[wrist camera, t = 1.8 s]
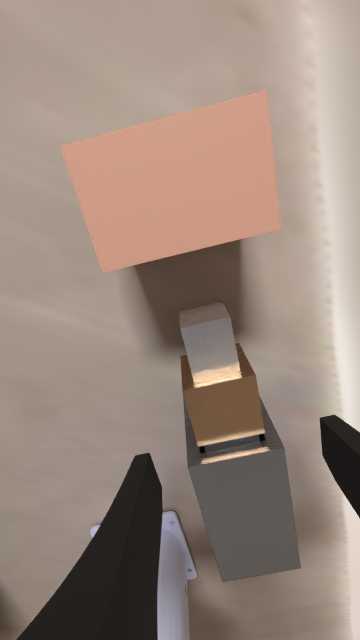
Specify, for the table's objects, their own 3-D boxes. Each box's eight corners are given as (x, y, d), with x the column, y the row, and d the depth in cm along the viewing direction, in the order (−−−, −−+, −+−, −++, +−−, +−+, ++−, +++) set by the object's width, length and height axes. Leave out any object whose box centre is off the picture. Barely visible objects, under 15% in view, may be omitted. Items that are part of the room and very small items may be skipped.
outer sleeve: (266, 472, 24) (300, 568, 18) (208, 484, 25) (222, 582, 18) (249, 374, 21) (284, 447, 14) (182, 389, 21) (187, 467, 15)
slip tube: (267, 500, 22) (284, 552, 18) (221, 509, 22) (229, 562, 19) (230, 295, 16) (246, 317, 13) (168, 310, 16) (167, 336, 13)
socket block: (239, 223, 17) (281, 229, 11) (128, 250, 18) (102, 272, 11) (227, 141, 16) (266, 89, 9) (105, 173, 16) (60, 146, 10)
